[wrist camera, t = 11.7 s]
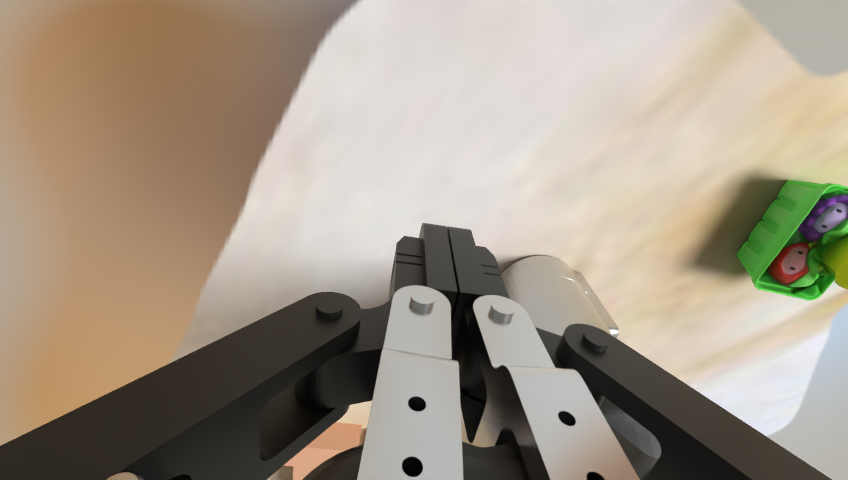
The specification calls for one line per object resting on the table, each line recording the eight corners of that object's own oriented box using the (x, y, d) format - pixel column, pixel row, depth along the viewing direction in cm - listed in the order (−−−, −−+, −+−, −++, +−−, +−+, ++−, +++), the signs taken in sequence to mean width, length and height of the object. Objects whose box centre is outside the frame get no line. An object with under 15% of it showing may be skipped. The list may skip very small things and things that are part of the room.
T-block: (361, 424, 56) (358, 451, 53) (353, 478, 62) (349, 506, 58) (270, 416, 55) (261, 443, 52) (270, 472, 61) (262, 500, 57)
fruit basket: (783, 164, 41) (905, 211, 31) (858, 184, 42) (997, 236, 32) (717, 261, 46) (803, 329, 36) (785, 277, 47) (886, 346, 37)
